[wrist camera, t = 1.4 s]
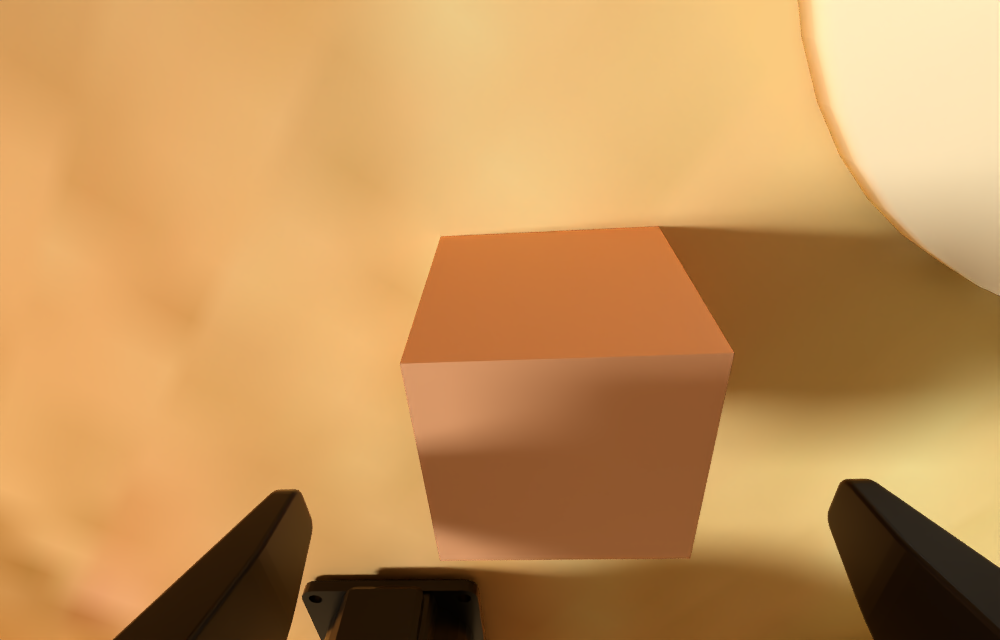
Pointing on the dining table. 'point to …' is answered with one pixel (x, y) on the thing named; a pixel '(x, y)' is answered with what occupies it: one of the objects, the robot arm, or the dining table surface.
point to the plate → (917, 117)
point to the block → (564, 396)
